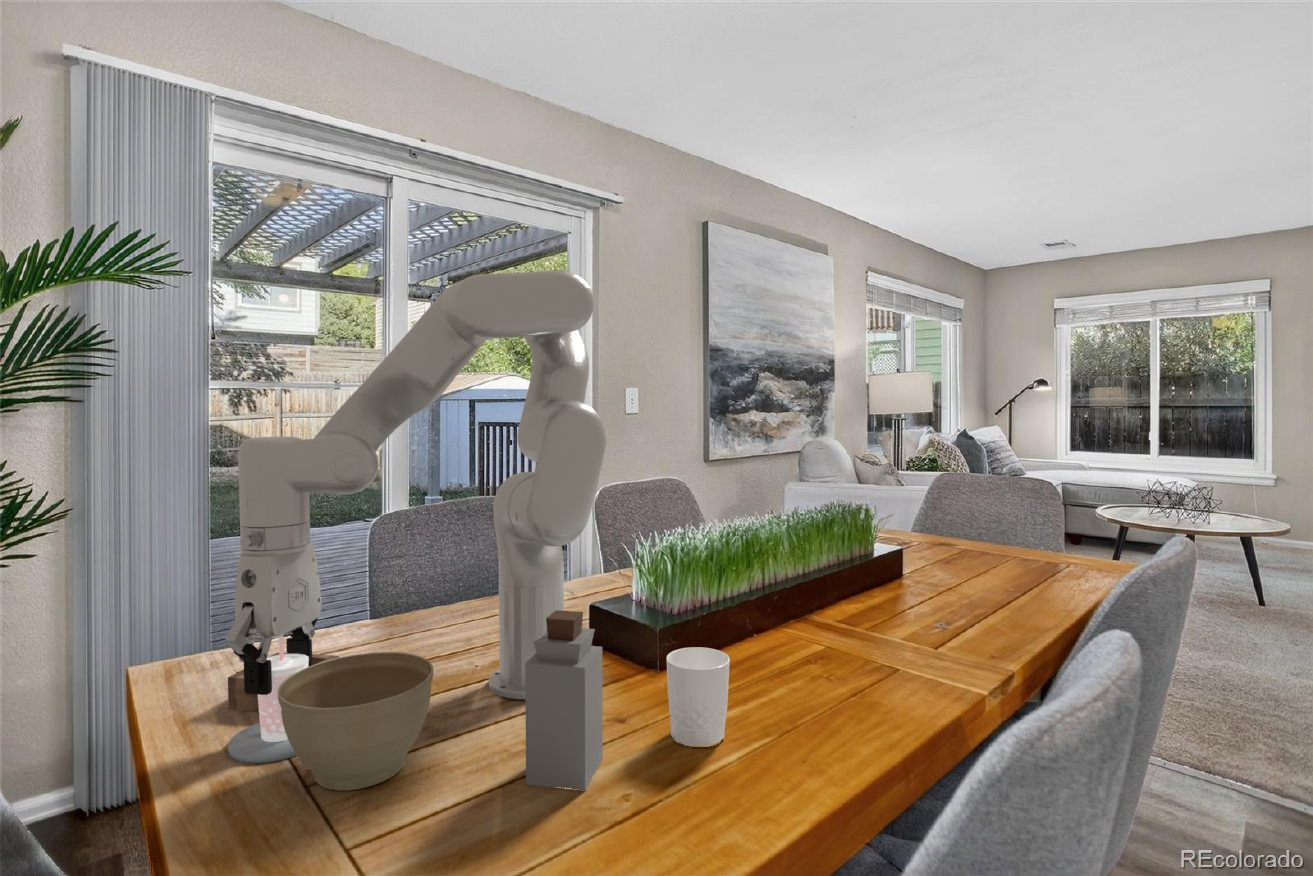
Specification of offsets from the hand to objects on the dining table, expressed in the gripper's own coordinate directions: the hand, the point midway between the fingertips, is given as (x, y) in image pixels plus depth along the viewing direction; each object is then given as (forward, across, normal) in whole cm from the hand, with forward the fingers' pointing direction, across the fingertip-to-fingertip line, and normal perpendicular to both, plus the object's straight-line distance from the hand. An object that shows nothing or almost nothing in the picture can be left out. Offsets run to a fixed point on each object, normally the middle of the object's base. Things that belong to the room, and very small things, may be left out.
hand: (279, 680), depth 87 cm
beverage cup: (+7, 0, 0) cm, 7 cm away
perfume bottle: (+8, -2, -37) cm, 38 cm away
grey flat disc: (+8, 0, 0) cm, 8 cm away
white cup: (+8, +9, -51) cm, 52 cm away
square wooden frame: (+8, +12, +8) cm, 16 cm away
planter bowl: (+8, -5, -14) cm, 17 cm away
